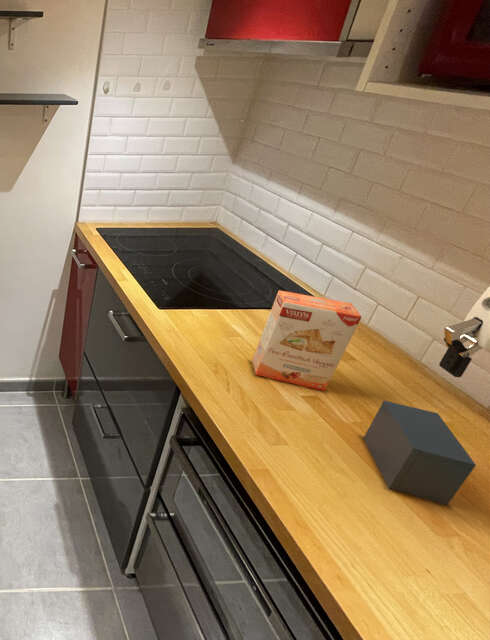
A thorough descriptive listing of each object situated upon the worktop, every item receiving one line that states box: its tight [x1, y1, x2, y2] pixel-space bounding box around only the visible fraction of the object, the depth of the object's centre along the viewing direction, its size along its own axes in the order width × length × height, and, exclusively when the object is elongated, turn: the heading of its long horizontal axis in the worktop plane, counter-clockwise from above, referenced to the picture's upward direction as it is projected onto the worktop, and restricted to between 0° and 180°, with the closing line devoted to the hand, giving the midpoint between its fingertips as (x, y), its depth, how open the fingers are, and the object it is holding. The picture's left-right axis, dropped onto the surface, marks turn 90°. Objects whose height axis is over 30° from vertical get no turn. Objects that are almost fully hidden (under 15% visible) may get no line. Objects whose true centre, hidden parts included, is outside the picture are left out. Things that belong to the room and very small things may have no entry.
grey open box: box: [363, 399, 477, 506], centre depth 81 cm, size 8×12×10 cm, turn 157°
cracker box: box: [251, 290, 362, 392], centre depth 101 cm, size 14×6×21 cm, turn 68°
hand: (479, 372), depth 74 cm, fingers open, 9 cm apart
